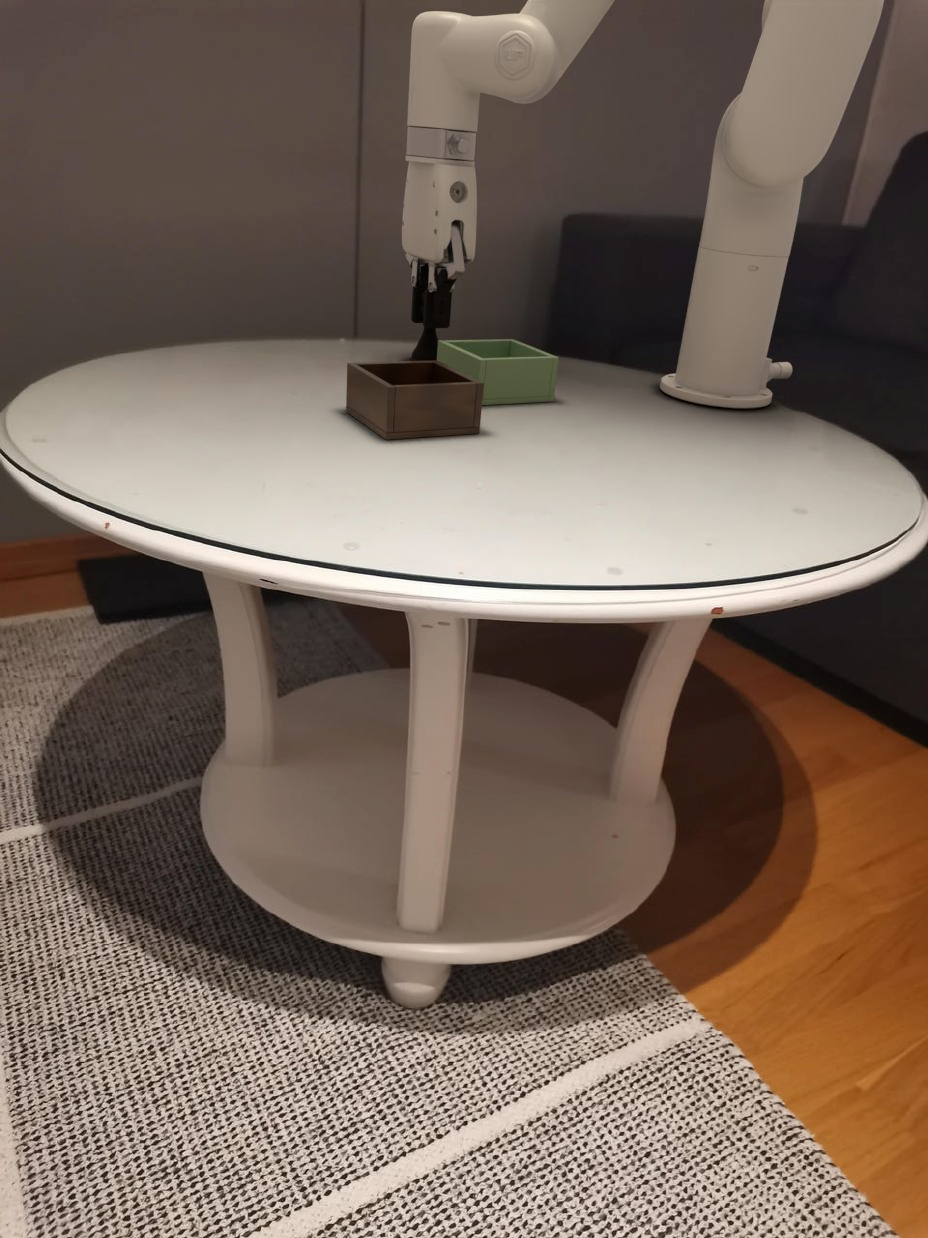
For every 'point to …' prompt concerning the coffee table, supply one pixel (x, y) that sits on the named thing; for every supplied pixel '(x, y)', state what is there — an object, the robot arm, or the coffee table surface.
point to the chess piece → (426, 343)
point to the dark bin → (413, 399)
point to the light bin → (503, 369)
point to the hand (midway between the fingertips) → (430, 323)
